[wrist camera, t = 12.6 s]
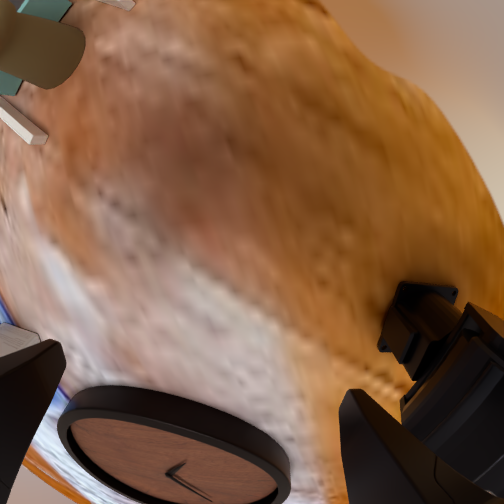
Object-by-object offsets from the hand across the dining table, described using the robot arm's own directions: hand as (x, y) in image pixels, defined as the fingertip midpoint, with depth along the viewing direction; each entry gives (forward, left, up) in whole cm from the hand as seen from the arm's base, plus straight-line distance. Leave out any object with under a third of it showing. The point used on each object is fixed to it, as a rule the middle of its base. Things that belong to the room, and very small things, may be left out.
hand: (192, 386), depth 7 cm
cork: (+17, -15, -13) cm, 26 cm away
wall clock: (+6, +31, -14) cm, 34 cm away
